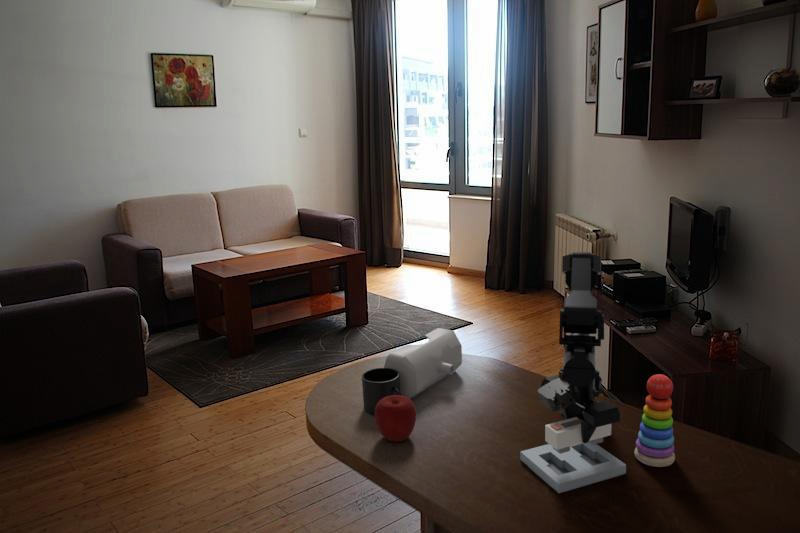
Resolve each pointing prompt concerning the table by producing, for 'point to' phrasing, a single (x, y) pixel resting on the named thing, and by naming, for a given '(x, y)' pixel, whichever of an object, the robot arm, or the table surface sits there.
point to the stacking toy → (656, 425)
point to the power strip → (571, 434)
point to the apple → (395, 417)
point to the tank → (426, 361)
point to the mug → (379, 386)
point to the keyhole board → (572, 465)
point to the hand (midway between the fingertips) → (578, 437)
